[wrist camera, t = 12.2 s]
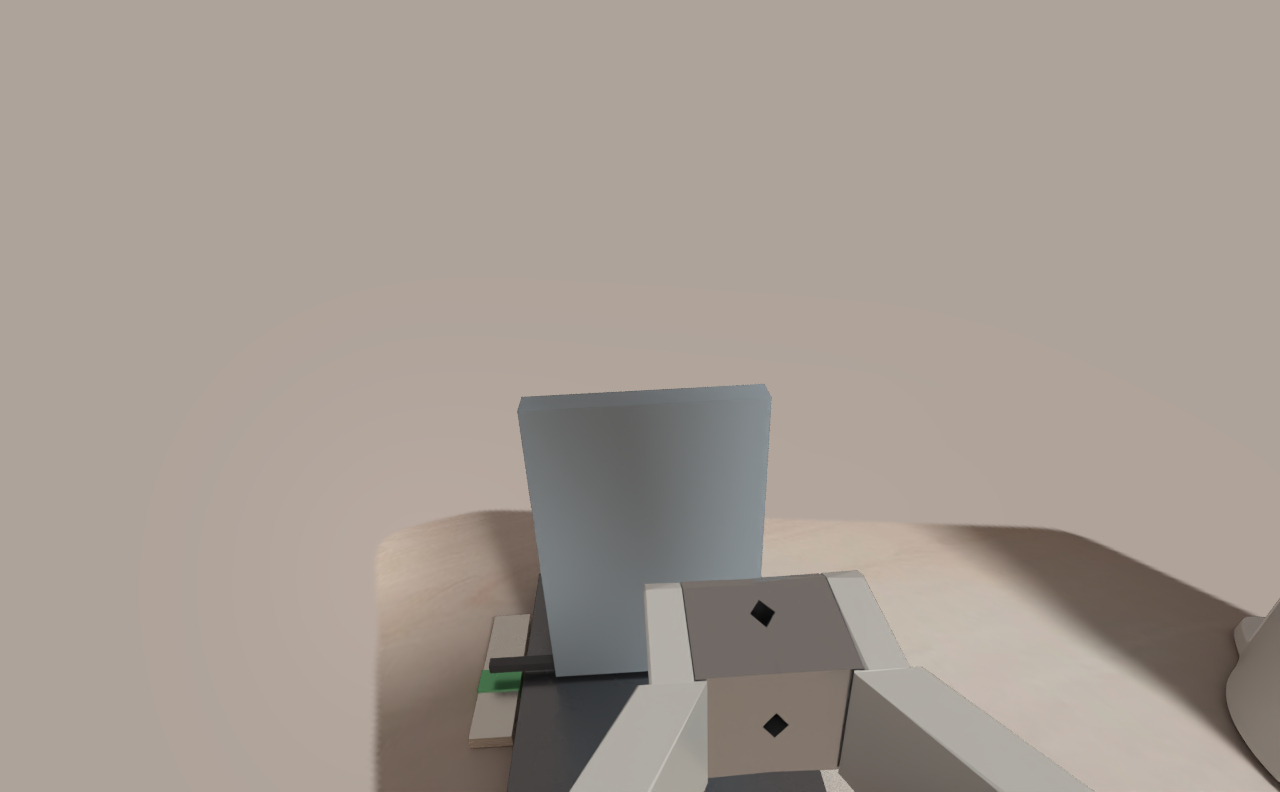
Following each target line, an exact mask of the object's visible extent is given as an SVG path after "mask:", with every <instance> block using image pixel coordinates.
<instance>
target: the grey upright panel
mask: <svg viewBox="0 0 1280 792" xmlns="http://www.w3.org/2000/svg"><path fill="white" fill-rule="evenodd" d="M517 412H518V419H519V426H520V432H521V439H522V447H523V453H524V460H525V467H526V474H527V480H528V488H529V495H530V501H531V508H532V515H533V522H534V529H535V536H536V543H537V550H538V556H539V563H540V570H541V577H542V584H543V591H544V598H545V604H546V611H547V618H548V625H549V632H550V639H551V646H552V653H553V654H552V655H535V656H519V657H502V658H490V662H489V671H490V673H505V672H521V671H538V670H554V669H555V673H556V677H561V676H577V675H594V674H610V673H626V672H642V671H648V659H647V641H646V624H645V607H644V584H654V583H680V585H681V582H685V581H710V580H735V579H750V578H761V566H762V550H763V533H764V516H765V499H766V482H767V465H768V449H769V448H768V447H769V431H770V415H771V396H770V394H769V392H768V390H767V388H766V386H765V384H755V385H736V386H719V387H700V388H681V389H662V390H644V391H625V392H607V393H588V394H569V395H552V396H534V397H533V396H532V397H521V401H520V404H519V408H518V411H517Z"/></svg>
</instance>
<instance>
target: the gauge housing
mask: <svg viewBox="0 0 1280 792" xmlns="http://www.w3.org/2000/svg"><path fill="white" fill-rule="evenodd" d="M761 578H762V577H761ZM531 624H532V627H531ZM530 631H531V633H530ZM529 637H530V640H529ZM528 644H529V647H528ZM527 651H528V653H527ZM552 654H553V653H552V646H551V639H550V632H549V625H548V618H547V611H546V604H545V598H544V591H543V584H542V577H541V574H539V580H538V586H537V593H536V600H535V606H534V613H533V620H532V621H531V615H530V614H523V615H506V616H495V620H494V624H493V629H492V633H491V638H490V642H489V647H488V651H487V656H486V661H485V665H484V670H482V673H481V677H480V682H479V686H478V697H477V701H476V706H475V711H474V715H473V720H472V724H471V729H470V733H469V738H468V740H469V744H470V748H483V747H499V746H513V744H514V747H513V754H512V761H511V767H510V774H509V781H508V787H507V792H569V791H570V789H571V788H572V786H573V785H574V783H575V782H576V780H577V779H578V777H579V776H580V774H581V772H582V771H583V769H584V768H585V766H586V765H587V763H588V762H589V760H590V758H591V757H592V755H593V754H594V752H595V751H596V749H597V748H598V746H599V745H600V743H601V741H602V740H603V738H604V737H605V735H606V734H607V732H608V731H609V729H610V728H611V726H612V724H613V723H614V721H615V720H616V718H617V717H618V715H619V714H620V712H621V711H622V709H623V707H624V706H625V704H626V703H627V701H628V700H629V698H630V697H631V695H632V694H633V692H634V690H635V689H636V687H637V686H638V685H648V684H649V676H648V671H642V672H626V673H610V674H594V675H577V676H561V677H556V673H555V669H554V670H538V671H525V674H524V671H521V672H505V673H490V671H489V662H490V658H502V657H519V656H535V655H552ZM520 699H521V700H520ZM519 704H520V707H519ZM518 711H519V714H518ZM517 718H518V720H517ZM516 724H517V727H516ZM515 731H516V734H515ZM514 738H515V741H514ZM704 792H826V789H825V786H824V782H823V779H822V776H821V772H820V770H807V771H781V772H765V773H755V774H744V775H734V776H724V777H714V778H708V783H707V786H706V788H705V791H704Z"/></svg>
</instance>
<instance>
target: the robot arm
mask: <svg viewBox="0 0 1280 792" xmlns="http://www.w3.org/2000/svg"><path fill="white" fill-rule="evenodd" d="M644 607H645V624H646V641H647V659H648V676H649V684H648V685H638V686H637V687H636V689H635V690H634V692H633V694H632V695H631V697H630V698H629V700H628V701H627V703H626V704H625V706H624V707H623V709H622V711H621V712H620V714H619V715H618V717H617V718H616V720H615V721H614V723H613V724H612V726H611V728H610V729H609V731H608V732H607V734H606V735H605V737H604V738H603V740H602V741H601V743H600V745H599V746H598V748H597V749H596V751H595V752H594V754H593V755H592V757H591V758H590V760H589V762H588V763H587V765H586V766H585V768H584V769H583V771H582V772H581V774H580V776H579V777H578V779H577V780H576V782H575V783H574V785H573V786H572V788H571V789H570V791H569V792H704V791H705V788H706V786H707V783H708V778H714V777H724V776H734V775H744V774H755V773H765V772H781V771H807V770H833V769H839V772H838V773H839V774H840V775H841V776H842V778H843V779H844V780H845V781H846V782H847V783H848V784H849V785H850V787H851V788H852V789H853V790H854V791H855V792H1095V791H1093V790H1092V789H1091V788H1089V787H1088V786H1087V785H1085V784H1084V783H1082V782H1081V781H1080V780H1078V779H1077V778H1075V777H1074V776H1073V775H1071V774H1070V773H1069V772H1067V771H1066V770H1064V769H1063V768H1062V767H1060V766H1059V765H1057V764H1056V763H1055V762H1053V761H1052V760H1051V759H1049V758H1048V757H1046V756H1045V755H1044V754H1042V753H1041V752H1039V751H1038V750H1037V749H1035V748H1034V747H1033V746H1031V745H1030V744H1028V743H1027V742H1026V741H1024V740H1023V739H1021V738H1020V737H1019V736H1017V735H1016V734H1015V733H1013V732H1012V731H1010V730H1009V729H1008V728H1006V727H1005V726H1003V725H1002V724H1001V723H999V722H998V721H997V720H995V719H994V718H992V717H991V716H990V715H988V714H987V713H985V712H984V711H983V710H981V709H980V708H979V707H977V706H976V705H974V704H973V703H972V702H970V701H969V700H967V699H966V698H965V697H963V696H962V695H961V694H959V693H958V692H956V691H955V690H954V689H952V688H951V687H949V686H948V685H947V684H945V683H944V682H943V681H941V680H940V679H938V678H937V677H936V676H934V675H933V674H931V673H930V672H929V671H927V670H926V669H925V668H923V667H910V665H909V664H908V662H907V660H906V658H905V656H904V654H903V652H902V650H901V648H900V646H899V644H898V642H897V640H896V638H895V636H894V634H893V632H892V630H891V628H890V626H889V624H888V622H887V620H886V619H885V617H884V615H883V613H882V611H881V609H880V607H879V605H878V603H877V601H876V599H875V597H874V595H873V593H872V591H871V589H870V587H869V585H868V583H867V581H866V579H865V577H864V575H863V574H861V573H860V572H859V571H858V570H854V571H841V572H828V573H821V574H805V575H791V576H777V577H764V578H750V579H735V580H710V581H685V582H681V585H680V583H654V584H644ZM1234 639H1235V643H1236V646H1237V650H1238V653H1239V661H1238V663H1237V665H1236V667H1235V668H1234V669H1233V671H1232V672H1231V674H1230V676H1229V678H1228V681H1227V685H1226V700H1227V705H1228V709H1229V712H1230V715H1231V717H1232V719H1233V722H1234V724H1235V726H1236V728H1237V730H1238V731H1239V733H1240V735H1241V736H1242V738H1243V739H1244V741H1245V742H1246V744H1247V745H1248V747H1249V748H1250V749H1251V751H1252V752H1253V753H1254V755H1255V756H1256V757H1257V758H1258V760H1259V761H1260V762H1261V763H1262V764H1263V766H1264V767H1265V768H1266V769H1267V770H1268V771H1269V772H1270V773H1271V774H1272V775H1273V777H1274V778H1275V779H1276V780H1277V781H1278V782H1279V783H1280V599H1279V600H1278V602H1277V603H1276V604H1275V606H1274V607H1273V609H1272V610H1271V611H1270V612H1269V614H1268V615H1267V616H1266V617H1255V616H1251V617H1245V618H1243V619H1242V620H1241V622H1240V623H1239V624H1238V626H1237V627H1236V628H1235V630H1234Z"/></svg>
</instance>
